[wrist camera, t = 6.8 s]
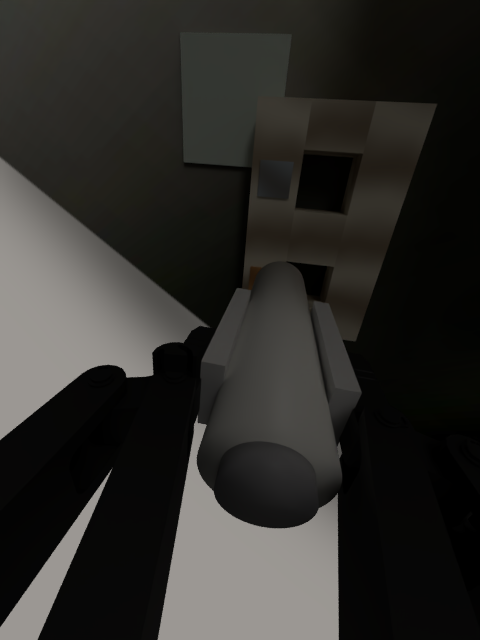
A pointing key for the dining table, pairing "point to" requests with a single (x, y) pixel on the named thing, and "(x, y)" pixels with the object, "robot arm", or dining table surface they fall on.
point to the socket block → (359, 199)
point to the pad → (228, 92)
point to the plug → (272, 413)
